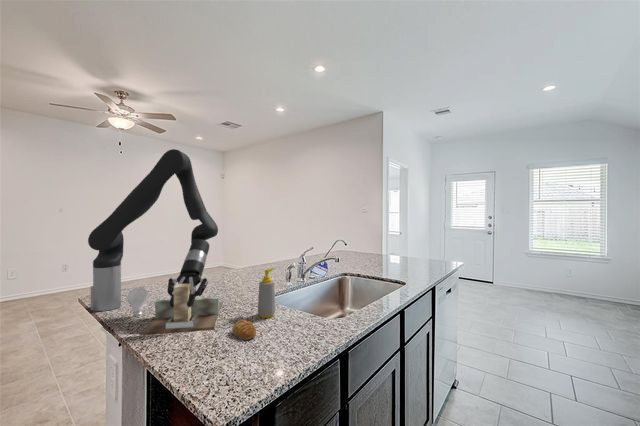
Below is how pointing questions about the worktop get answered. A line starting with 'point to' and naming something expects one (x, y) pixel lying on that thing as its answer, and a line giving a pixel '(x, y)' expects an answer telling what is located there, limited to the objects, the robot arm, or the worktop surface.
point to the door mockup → (205, 321)
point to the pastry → (244, 330)
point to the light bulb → (137, 299)
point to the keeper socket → (182, 322)
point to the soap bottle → (266, 296)
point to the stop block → (181, 302)
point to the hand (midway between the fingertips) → (180, 306)
